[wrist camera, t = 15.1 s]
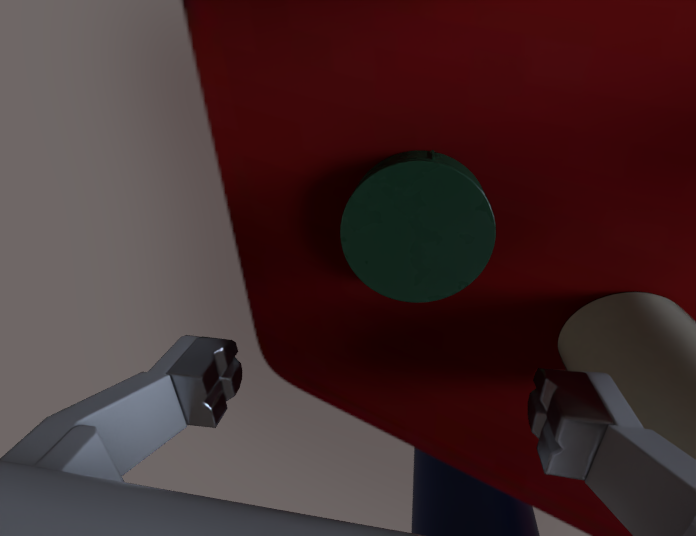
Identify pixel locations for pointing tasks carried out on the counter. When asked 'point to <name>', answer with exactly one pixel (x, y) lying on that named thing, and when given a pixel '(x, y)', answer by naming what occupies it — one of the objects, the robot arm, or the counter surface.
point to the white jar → (640, 358)
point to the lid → (418, 227)
